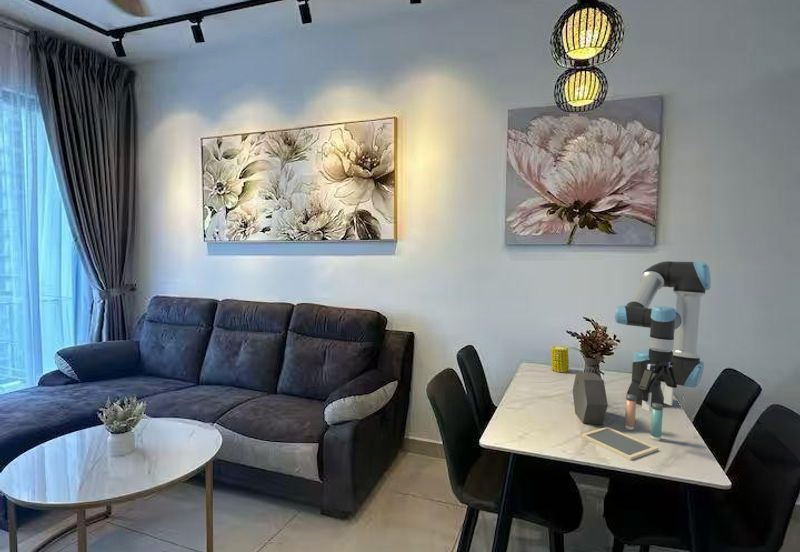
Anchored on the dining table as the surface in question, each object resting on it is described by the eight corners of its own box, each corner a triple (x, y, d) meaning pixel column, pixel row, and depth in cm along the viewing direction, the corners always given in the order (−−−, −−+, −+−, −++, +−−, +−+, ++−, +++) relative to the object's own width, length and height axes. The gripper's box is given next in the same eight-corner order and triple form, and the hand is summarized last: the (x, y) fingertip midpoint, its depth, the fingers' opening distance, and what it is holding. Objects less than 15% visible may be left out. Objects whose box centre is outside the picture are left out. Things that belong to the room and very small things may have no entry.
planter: (610, 420, 160) (601, 366, 171) (588, 418, 161) (581, 365, 171) (596, 428, 175) (589, 378, 185) (576, 426, 176) (570, 377, 186)
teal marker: (653, 436, 158) (655, 402, 157) (663, 440, 155) (665, 405, 154) (647, 438, 156) (649, 403, 155) (657, 441, 153) (659, 406, 152)
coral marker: (628, 426, 167) (629, 393, 166) (636, 429, 164) (638, 396, 163) (622, 427, 165) (624, 395, 164) (631, 431, 162) (633, 398, 161)
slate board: (607, 428, 164) (607, 426, 164) (657, 450, 147) (658, 447, 147) (580, 436, 156) (580, 434, 156) (630, 460, 139) (630, 457, 139)
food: (571, 375, 239) (555, 376, 237) (559, 364, 250) (544, 366, 247) (575, 350, 234) (559, 352, 232) (563, 341, 245) (547, 342, 243)
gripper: (669, 344, 163) (666, 398, 164) (629, 350, 151) (626, 408, 152) (691, 348, 156) (687, 405, 157) (650, 354, 144) (646, 415, 145)
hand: (657, 407), depth 155 cm, fingers open, 13 cm apart
